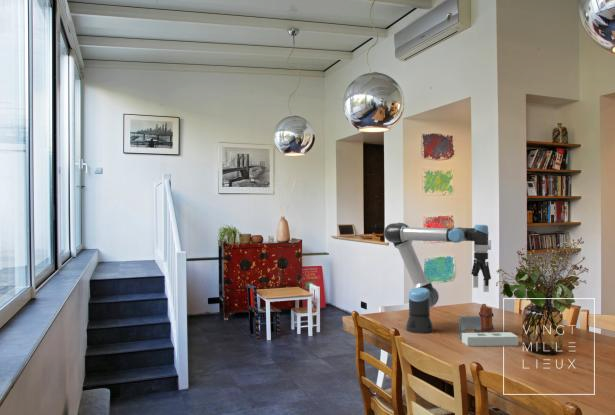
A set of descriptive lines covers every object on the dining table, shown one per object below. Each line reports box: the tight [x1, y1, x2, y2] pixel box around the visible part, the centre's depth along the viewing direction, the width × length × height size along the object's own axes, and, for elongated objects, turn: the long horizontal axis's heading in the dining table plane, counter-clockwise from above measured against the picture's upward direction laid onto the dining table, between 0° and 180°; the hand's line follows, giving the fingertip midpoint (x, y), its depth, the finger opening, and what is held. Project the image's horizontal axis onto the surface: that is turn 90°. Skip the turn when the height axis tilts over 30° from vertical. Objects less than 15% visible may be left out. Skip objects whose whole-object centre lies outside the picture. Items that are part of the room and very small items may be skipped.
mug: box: [478, 303, 495, 333], centre depth 281 cm, size 15×8×15 cm, turn 168°
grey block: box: [458, 315, 481, 341], centre depth 266 cm, size 11×3×12 cm, turn 91°
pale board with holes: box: [461, 331, 519, 347], centre depth 257 cm, size 26×9×4 cm, turn 91°
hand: (480, 289), depth 282 cm, fingers open, 13 cm apart
